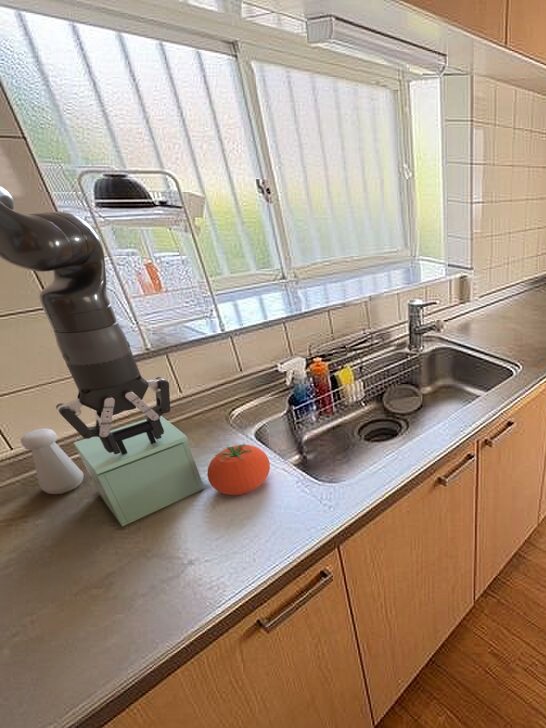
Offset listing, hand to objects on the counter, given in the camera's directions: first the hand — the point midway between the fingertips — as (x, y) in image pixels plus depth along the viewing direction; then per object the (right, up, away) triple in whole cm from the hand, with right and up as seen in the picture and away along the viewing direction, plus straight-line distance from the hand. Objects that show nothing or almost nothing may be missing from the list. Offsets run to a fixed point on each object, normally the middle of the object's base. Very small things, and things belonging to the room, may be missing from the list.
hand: (137, 444), depth 72 cm
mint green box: (-4, -11, +9) cm, 15 cm away
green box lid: (-3, 0, +3) cm, 5 cm away
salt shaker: (-21, -10, +9) cm, 25 cm away
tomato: (+11, -11, +12) cm, 19 cm away
